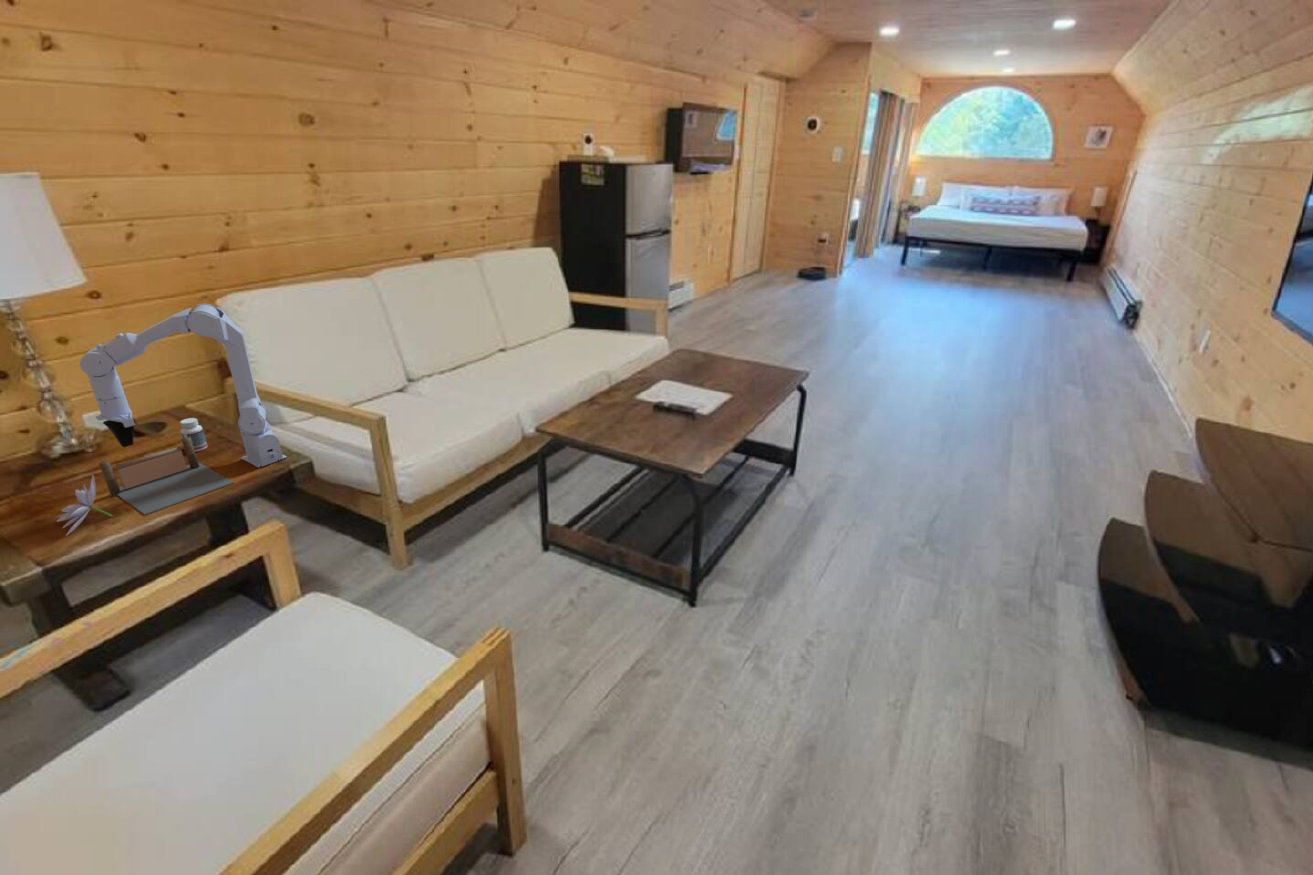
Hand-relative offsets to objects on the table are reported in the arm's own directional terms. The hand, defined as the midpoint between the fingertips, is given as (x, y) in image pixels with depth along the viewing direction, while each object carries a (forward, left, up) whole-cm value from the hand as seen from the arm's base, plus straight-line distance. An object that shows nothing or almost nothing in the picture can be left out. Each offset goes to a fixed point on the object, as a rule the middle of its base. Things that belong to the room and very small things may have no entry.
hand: (127, 445), depth 164 cm
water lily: (-15, +16, -10) cm, 24 cm away
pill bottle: (+7, -17, -10) cm, 21 cm away
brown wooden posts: (-6, -2, -9) cm, 11 cm away
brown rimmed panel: (-6, -2, -9) cm, 11 cm away
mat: (-13, -3, -9) cm, 16 cm away
